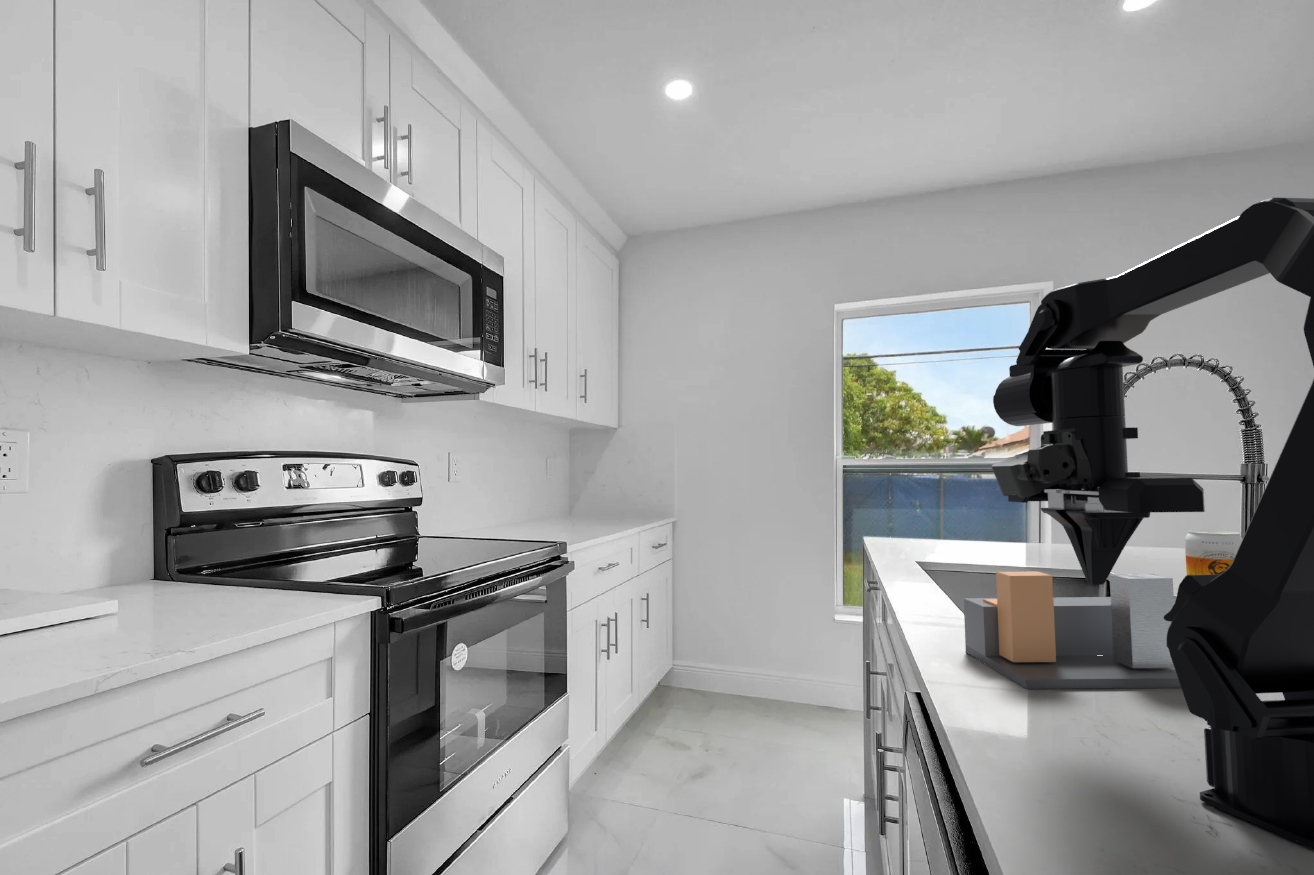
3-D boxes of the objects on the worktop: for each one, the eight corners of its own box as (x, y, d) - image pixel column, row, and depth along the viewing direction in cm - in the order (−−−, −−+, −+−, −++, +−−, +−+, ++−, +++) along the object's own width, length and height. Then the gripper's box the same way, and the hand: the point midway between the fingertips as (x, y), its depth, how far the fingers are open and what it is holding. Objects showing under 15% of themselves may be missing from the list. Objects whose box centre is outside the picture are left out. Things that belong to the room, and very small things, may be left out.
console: (1211, 687, 68) (1207, 618, 68) (1026, 688, 68) (1023, 620, 68) (1120, 651, 81) (1117, 594, 82) (965, 652, 81) (963, 595, 82)
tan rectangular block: (1056, 661, 73) (1052, 575, 73) (1013, 662, 73) (1009, 575, 74) (1040, 654, 76) (1037, 571, 76) (999, 654, 76) (996, 571, 77)
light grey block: (1177, 667, 70) (1172, 578, 71) (1132, 668, 70) (1128, 578, 71) (1156, 659, 73) (1152, 573, 74) (1113, 660, 73) (1109, 574, 74)
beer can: (1197, 646, 83) (1191, 533, 84) (1184, 635, 88) (1178, 529, 89) (1258, 652, 80) (1251, 534, 81) (1241, 640, 85) (1234, 530, 86)
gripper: (957, 426, 69) (962, 569, 68) (1066, 410, 50) (1074, 606, 50) (1058, 425, 69) (1064, 568, 68) (1204, 409, 50) (1216, 604, 50)
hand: (1095, 583), depth 59 cm, fingers closed
